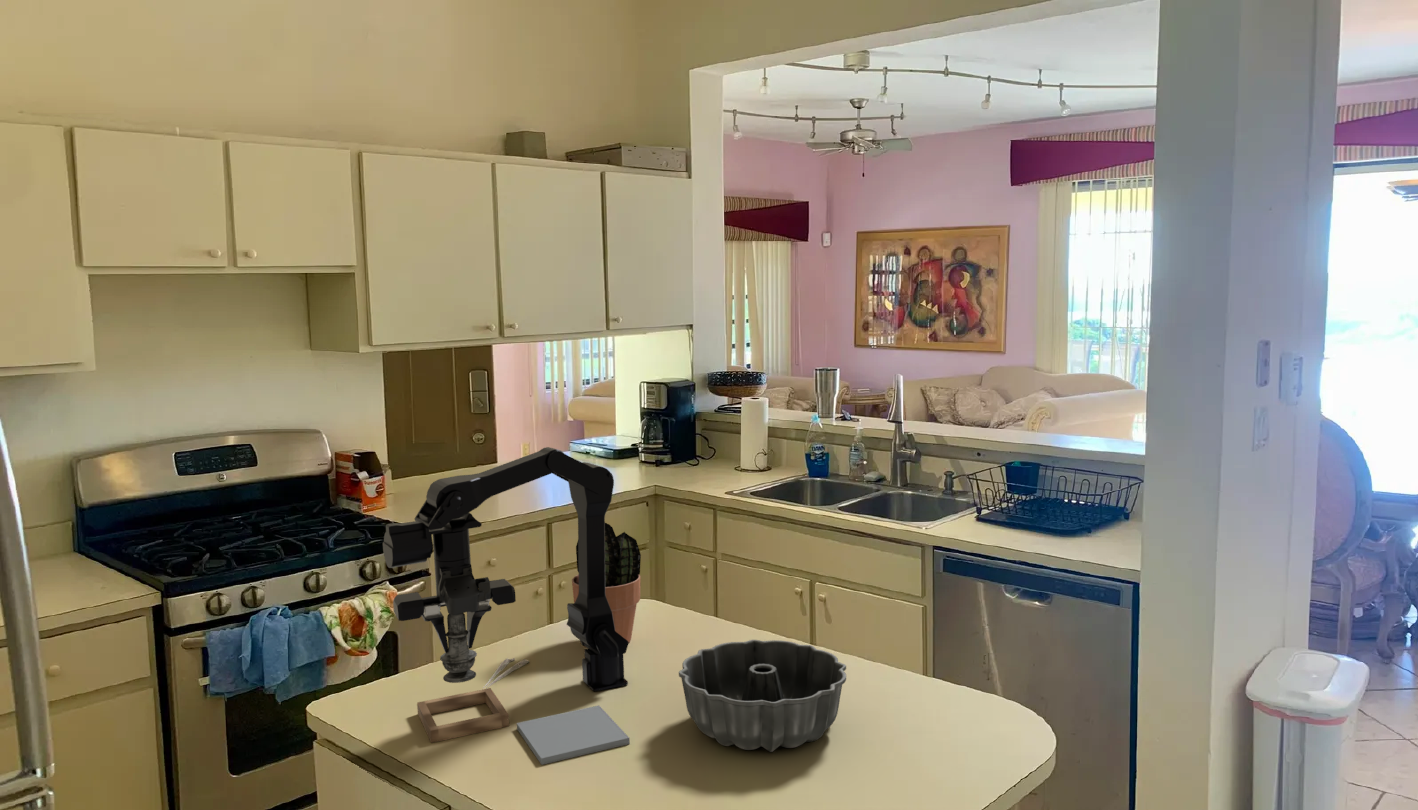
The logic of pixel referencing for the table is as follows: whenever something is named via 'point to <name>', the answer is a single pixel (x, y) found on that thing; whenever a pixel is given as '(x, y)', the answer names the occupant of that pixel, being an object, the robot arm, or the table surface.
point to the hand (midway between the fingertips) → (458, 649)
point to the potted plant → (619, 579)
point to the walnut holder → (467, 726)
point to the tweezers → (506, 670)
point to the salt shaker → (458, 651)
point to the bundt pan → (763, 693)
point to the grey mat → (571, 734)
